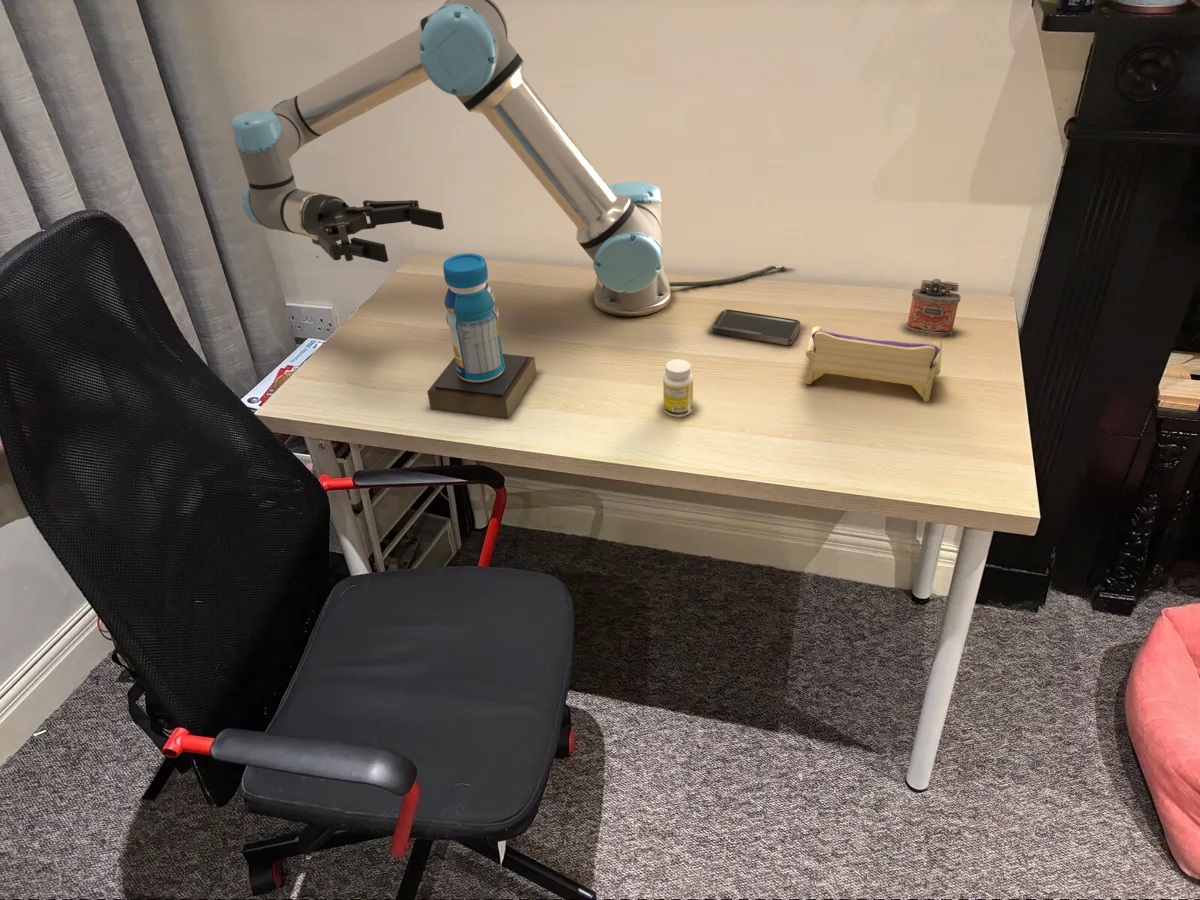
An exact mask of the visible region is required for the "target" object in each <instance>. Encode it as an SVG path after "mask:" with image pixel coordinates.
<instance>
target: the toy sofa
mask: <svg viewBox="0 0 1200 900" xmlns="http://www.w3.org/2000/svg"><path fill="white" fill-rule="evenodd" d="M942 347H943V344H942V342H941V341H940V340H934V341H932V342H931V344H928V343H917V342H916V343H915V342H901V341H894V340H880V339H871V338H865V337H860V336H859V337H858V336H852V335H846V334H840V333H837V332H836V333H835V332H832V331H827V330H826V331H825V330H822V328H821V327H820V326H813V328H812V329H811V333H810V336H809V339H808V343H807V347H806V350H805V357H806V358H807V359H808V364H807V371H806V379H805V384H806V385H812V383H813V382H814V381H816V380H817V379H819V378H820V377H822V376H824V375H825V374H831V375H835V376H836V375H837V376H845V377H851V378H858V379H865V380H866V379H867V380H873V381H881V382H888V383H895V384H901V385H906V386H911V387H913V389H914V390H915V391H916V392H917V393H918V394H919V396H920V397H921V398H922V402H926V403H927V402H929V401H930V397H931V392H932V389H933V384H934V380H935V376H938V375H940V374H941V368H942V349H943V348H942Z"/></svg>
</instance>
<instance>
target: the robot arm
mask: <svg viewBox="0 0 1200 900" xmlns="http://www.w3.org/2000/svg"><path fill="white" fill-rule="evenodd" d="M508 39H509V29H508V23H507V20H506V17H505V15H504V13H503V12H502V10H501V9H500V7H499V6H498V5H497V4H496V3H495V1H493V0H446V1H445V2H444V3H443V4H442V6H440V7H439V8H437V9H436V10H435V11H433V12H432V13H430V14H428V15H426V16H424V17H423V18H421V19H420V20H419V22H418V27H417V29H415V30H414V31H411V32H410V33H407V34H406V35H404V36H402V37H401V38H399V39H397V40H395V41H393V42H391V43H390V44H388V45H386V46H384V47H382V48H381V49H379V50H377V51H375V52H373V53H371V54H370V55H367V56H366V57H364V58H362V59H360V60H358V61H357V62H354V63H353V64H351V65H350V66H347V67H346V68H344V69H342V70H341V71H339V72H337V73H335V74H333V75H331V76H329V77H327V78H326V79H324V80H322V81H320V82H318V83H316V84H315V85H313V86H311V87H310V88H307V89H305V90H303V91H302V92H300V93H299V94H298V95H295V96H292V97H290V98H286V99H283V100H282V101H280V102H278V103H277V104H275V105H273V107H272V109H271V110H266V109H265V110H264V109H260V110H258V109H257V110H251V111H245V112H243V113H241V114H237V115H235V116H234V117H233V119H232V120H231V130H232V133H233V137H234V144H235V145H234V146H236V148H237V151H238V155H239V158H240V161H241V164H242V168H243V170H244V173H245V176H246V179H247V180H246V181H247V183H248V186H247V187H246V188H245V189H244V191H243V194H242V203H241V206H242V210H243V213H244V214H245V216H246V217H247V219H249V221H251V222H252V223H253V224H256V225H257V226H262V227H264V228H266V229H269V230H275V231H282V232H287V233H291V234H295V235H299V236H304V237H308V238H310V239H311V241H312V244H313V245H317V246H319V247H321V249H322V250H323V251H324V252H325V253H326V254H327V255H328V256H329V257H330V258H331V259H332V260H333V261H340V260H341V259H342V256H344V259H345V261H346V262H352V261H353V260H354V257H358V258H364V259H368V260H371V261H372V260H373V261H376V262H381V263H387V262H389V258H388V253H387V247H386V244H385V243H381V242H377V241H373V240H368V239H363V238H358V237H352V238H350V239H349V236H350V235H355V234H357V233H358V232H361V231H362V230H372V229H375V228H376V227H377V226H380V225H388V224H389V225H390V224H398V223H399V224H400V223H407V222H410V224H411V225H415V226H420V227H425V228H430V229H435V230H438V231H439V230H441V231H442V230H444V229H445V224H444V219H443V213H442V212H441V211H436V210H431V209H425V208H420V203H419V200H417V199H409V200H408V199H407V200H369V199H364V200H363V201H362V205H363V206H359V207H357V206H349V205H348V204H347V202H345V201H344V199H342V198H341V197H338V196H336V195H335V196H334V195H330V194H324V193H320V192H315V191H311V190H310V191H309V190H304V189H300V188H297V184H296V181H295V176H294V172H293V169H292V164H291V161H290V159H291V158H292V157H293V156H294V155H295V154H296V153H297V152H298V151H299V150H300V149H301V148H302V147H303V146H305V145H306V144H309V143H311V142H313V141H314V140H316V139H318V138H320V137H321V136H323V135H325V134H326V133H329V132H330V131H332V130H335V129H336V128H338V127H340V126H342V125H344V124H346V123H348V122H350V121H352V120H354V119H356V118H358V117H359V116H362V115H363V114H365V113H367V112H369V111H372V110H373V109H375V108H377V107H379V106H381V105H382V104H385V103H387V102H389V101H390V100H393V99H395V98H397V97H398V96H400V95H402V94H404V93H406V92H408V91H410V90H412V89H414V88H416V87H417V86H420V85H421V84H424V83H426V82H428V81H429V80H430V81H431V82H432V84H434V85H435V87H437V88H438V89H440V90H441V91H443V92H444V93H446V94H449V95H452V96H455V97H456V98H457V99H458V101H459V102H460V103H461V104H462V106H464V107H465V109H466V110H467V111H468V113H474V114H481V115H484V116H485V118H486V119H487V120H488V122H489V123H490V124H491V125H492V126H493V127H494V129H495V130H496V131H497V133H499V135H500V136H501V138H503V140H504V141H505V142H506V143H507V145H508V146H509V147H510V148H511V149H512V151H513V152H514V153H515V154H516V156H517V157H518V158H519V159H520V160H521V162H523V164H524V166H526V168H527V169H528V170H529V171H530V172H531V174H532V175H533V176H534V178H536V179H537V181H538V182H539V183H540V184H541V186H542V187H543V188H544V190H545V191H546V192H547V193H548V194H549V195H550V197H551V198H552V200H554V202H556V204H557V205H558V207H560V209H561V210H562V211H563V213H565V215H566V216H567V217H568V218H569V220H570V221H571V222H572V223H573V225H574V226H575V227H576V236H575V240H576V241H577V243H578V244H579V246H581V248H582V249H583V250H584V251H585V253H586V254H587V255H588V256H589V258H590V259H591V260H592V262H593V270H594V273H595V275H596V278H595V281H596V283H595V286H594V291H593V298H594V304H595V306H596V308H598V309H599V310H600V311H603V312H604V313H607V314H609V315H613V316H619V317H641V316H647V315H648V316H649V315H651V314H654V313H657V312H659V311H661V310H663V309H664V308H666V307H667V306H668V305H669V303H670V302H671V297H672V296H671V295H672V293H671V291H672V290H671V287H700V286H701V287H702V286H703V287H704V286H714V285H722V284H728V283H733V282H737V281H741V280H745V279H748V278H752V277H756V276H759V275H763V274H765V273H768V272H771V271H772V270H773V271H774V270H777V269H778V270H781V271H783V272H788V271H789V270H788V268H787V267H786V266H784V265H782V266H783V267H781V268H776V267H775V266H772V265H770V266H767V267H765V268H763V269H759V270H754V271H750V272H748V273H745V274H741V275H738V276H732V277H727V278H722V279H721V278H720V279H714V280H713V279H712V280H704V281H703V280H702V281H672V282H671V281H670V282H669V280H668V277H667V274H666V271H665V269H664V266H663V261H664V250H663V239H662V202H663V200H662V199H661V198H662V197H661V189H660V188H659V187H658V186H657V185H655V184H653V183H648V182H639V181H625V182H624V181H623V182H616V183H611V184H608V183H607V182H606V180H605V179H604V178H603V176H602V175H601V174H600V172H598V170H597V169H596V167H595V166H594V165H593V164H592V162H591V161H590V160H589V158H588V157H587V156H586V155H585V153H584V152H583V151H582V150H581V148H580V147H579V145H577V143H576V142H575V140H574V139H573V138H572V136H571V135H570V134H569V133H568V132H567V131H566V129H565V128H564V127H563V125H562V124H561V122H559V120H558V118H557V117H556V116H555V115H554V113H553V112H552V111H551V110H550V108H548V106H547V104H546V103H545V102H544V101H543V100H542V98H541V97H540V96H539V94H538V93H537V92H536V91H535V90H534V88H533V87H532V86H531V84H530V83H529V82H528V81H527V79H526V78H525V75H524V71H525V70H524V69H525V61H524V59H523V58H522V57H521V56H520V54H519V53H518V52H517V50H516V49H515V47H513V45H512V44H511V42H510V41H509V40H508ZM367 217H369V221H370V222H369V223H368V219H367ZM339 241H340V243H338V242H339Z"/></svg>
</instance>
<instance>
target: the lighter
mask: <svg viewBox="0 0 1200 900" xmlns="http://www.w3.org/2000/svg"><path fill="white" fill-rule="evenodd" d="M959 287H960V284H959V283H958V282H952V281H941V279H939V278H933V280H930V279H922V280H921V284H920V288H914V289H913V290H912V293H911V296H912V299H911V304H910V310H909V314H908V319H907V323H906V325H905V330H906V331H907V332H908V333H912V334H916V335H920V336H921V335H922V336H928V337H937V338H950V337H952V336H953V333H954V325H955V320H956V315H957V311H958V306H959V303H960V301H961V297H962V296H961V295H960V294H959V293H957V292H958V291H959Z"/></svg>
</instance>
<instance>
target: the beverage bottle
mask: <svg viewBox="0 0 1200 900" xmlns="http://www.w3.org/2000/svg"><path fill="white" fill-rule="evenodd" d="M442 270H443V275H444V282H445V283H446V285H447V286H448V289H447V291H446V293H445V297H444V308H445V309H446V310H447V311H446V317H445V318H446V325H447V326H448V328H449V332H450V337H451V338H450V339H451V343H452V348H453V354H454V357H455V361H456V371H457V374H458V376H459V377H460V378H461V379H463V380H465V381H468V382H474V383H480V382H487V381H490V380H493V379H495V378H497V377H498V376H500V375H501V374H502V372H503V371H504V368H505V364H504V358H503V354H504V353H503V348H502V347H503V346H502V340H501V332H500V331H501V330H500V323H499V319H500V313H499V309H498V307H497V306H496V302H497V297H496V294H495V292H494V290H493V289H492V287H491V285H489V283H487V282H488V280H489V279H488V278H489V273H488V271H489V270H488V266H487V262H486V258H485V257H484V256H482V255H480V254H477V253H460V254H459V253H458V254H456V255H453V256H450V257H448V258H447V259H446V260H444V262H443V264H442Z"/></svg>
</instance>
